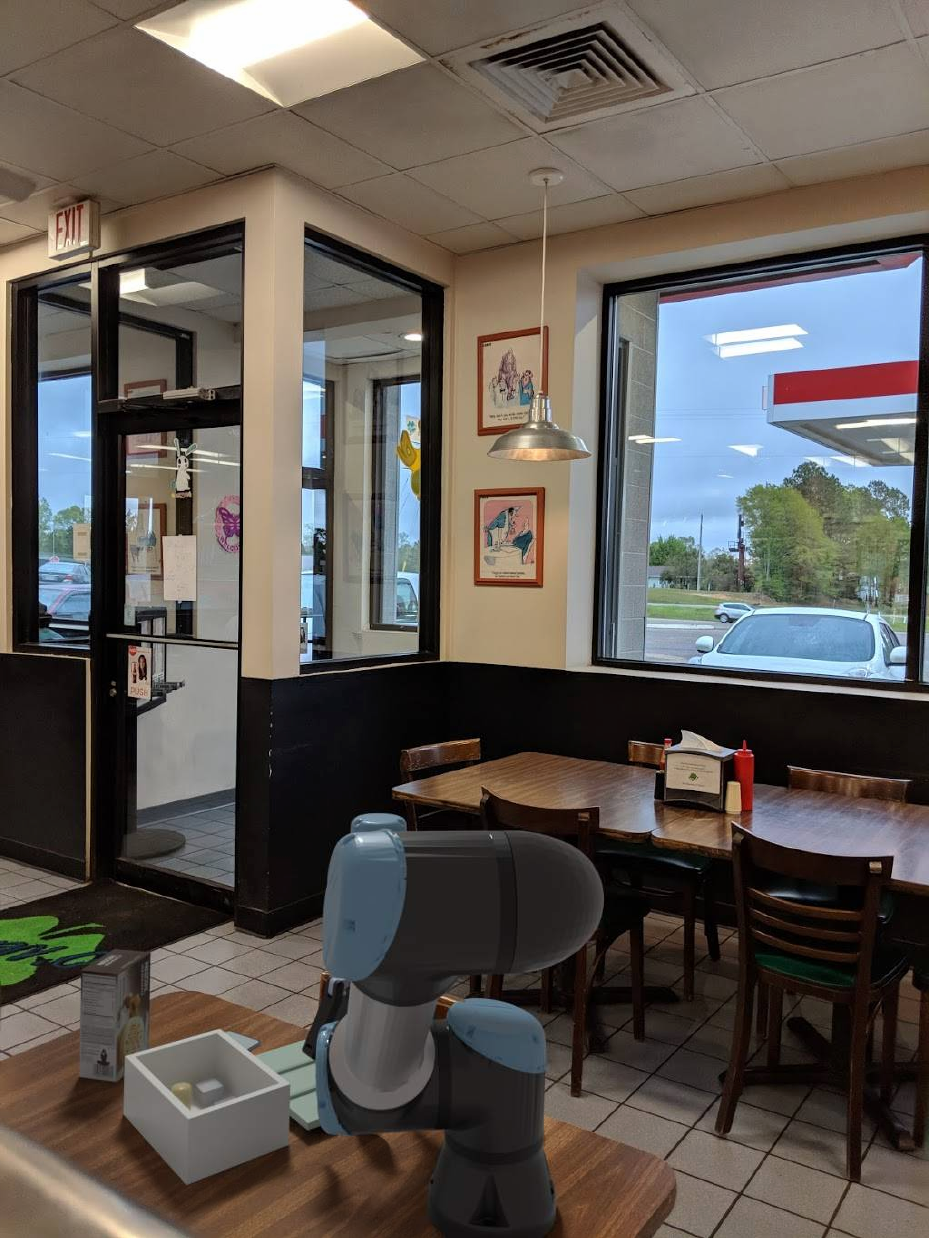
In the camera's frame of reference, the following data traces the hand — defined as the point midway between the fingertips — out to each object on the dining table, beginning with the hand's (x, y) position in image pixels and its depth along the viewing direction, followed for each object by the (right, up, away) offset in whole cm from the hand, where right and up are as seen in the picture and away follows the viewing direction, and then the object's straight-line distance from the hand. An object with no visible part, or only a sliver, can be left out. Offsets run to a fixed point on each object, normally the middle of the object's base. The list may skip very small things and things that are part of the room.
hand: (370, 1090), depth 127 cm
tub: (-22, -5, 0) cm, 23 cm away
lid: (-7, -5, +8) cm, 12 cm away
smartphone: (-26, -5, +20) cm, 33 cm away
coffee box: (-40, -4, +16) cm, 43 cm away
